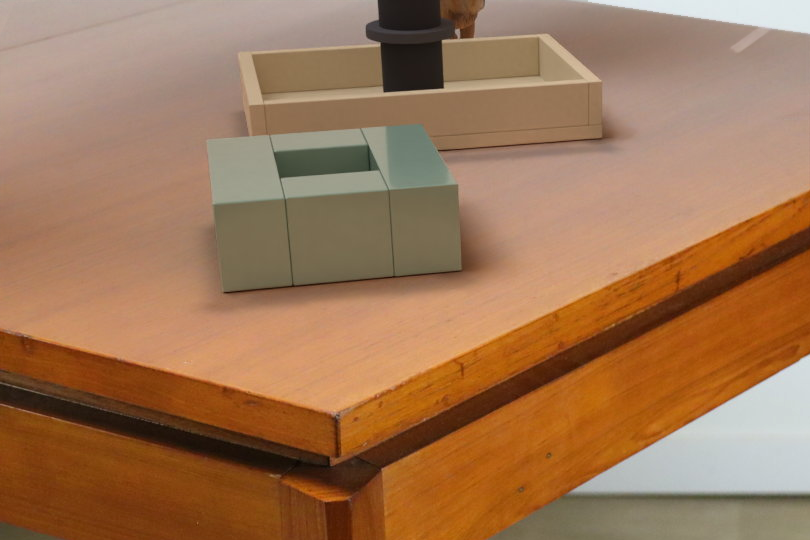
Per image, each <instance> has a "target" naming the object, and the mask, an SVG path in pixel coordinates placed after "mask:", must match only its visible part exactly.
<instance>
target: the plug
mask: <svg viewBox="0 0 810 540" xmlns="http://www.w3.org/2000/svg"><path fill="white" fill-rule="evenodd" d="M377 11H378V13H377V15H378V19H376V20H373V21H370V22H368V23H366V24H365V37H366V38H367V39H368V40H370V41H372V42H376V43H379V44H380V47H381V63H382V79H383V93H386V92H401V91H416V90H431V89H444V76H443V54H442V40H445V39H448V38H451V37H452V36H454V35H455V33H456V29H455V23H454V22H453V21H451V20H449V19H445V18H441V10H440V0H377Z"/></svg>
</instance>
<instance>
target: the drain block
mask: <svg viewBox="0 0 810 540" xmlns="http://www.w3.org/2000/svg"><path fill="white" fill-rule="evenodd" d="M205 144H206V153H207V164H208V175H209V183H210V195H211V204H212V205H211V206H212V212H213V222H214V232H215V239H216V240H215V241H216V248H217V257H218V266H219V275H220V281H221V282H220V284H221V285H220V286H221V290H222V291H221V292H222V293H229V292H240V291H250V290H261V289H271V288H283V287H292V286H306V285H315V284H317V285H318V284H328V283H337V282H348V281H349V282H350V281H358V280H371V279H381V278H391V277H404V276H405V277H406V276H414V275H425V274H427V275H428V274H436V273H447V272H448V273H449V272H456V271H462V269H463V267H462V247H461V244H462V243H461V221H460V199H459V183H458V181H457V180H456V179H455V177H454V175H453V174H452V172H451V170H450V168H449V167H448V165H447V163H446V162H445V160H444V159H443V157H442V155H441V154H440V151H439V150H437V149H436V147H435V145H434V144H433V142H432V140H431V139H430V137H429V135H428V134H427V132H426V130H425V129H424V127H423V125H422V124H411V125H397V126H383V127H370V128H361V129H345V130H331V131H317V132H303V133H289V134H275V135H270V136H269V135H261V136H249V135H248V136H236V137H222V138H221V137H220V138H209V139H206V141H205Z"/></svg>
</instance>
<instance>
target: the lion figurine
mask: <svg viewBox="0 0 810 540" xmlns="http://www.w3.org/2000/svg"><path fill="white" fill-rule="evenodd" d="M485 3H486V0H440V10H441V18H445V19H449V20H451V21H453V22H454V23H455V30H459V38H458V34H457V33H456V32H455V35H454V36H452V37H451V38H448V39H445V40H451V39H468V38H474V36H475V31H476V19H477V18H478V13H480V11H482V10H483V9H484V8H485V5H486V4H485Z"/></svg>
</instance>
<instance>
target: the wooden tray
mask: <svg viewBox="0 0 810 540" xmlns="http://www.w3.org/2000/svg"><path fill="white" fill-rule="evenodd" d="M442 54H443V76H444V89H431V90H416V91H401V92H386V93H383V79H382V63H381V47H380V43H370V44H354V45H353V44H352V45H338V46H337V45H336V46H319V47H304V48H287V49H271V50H270V49H269V50H254V51H253V50H252V51H239V52H237V58H238V69H239V79H240V87H241V96H242V97H241V98H242V106H243V111H244V116H245V121H246V126H247V131H248V136H261V135H269V136H270V135H275V134H289V133H303V132H317V131H331V130H345V129H361V128H370V127H383V126H397V125H411V124H422V125H423V127H424V129H425V130H426V132H427V134H428V135H429V137H430V139H431V140H432V142H433V144H434V145H435V147H436V149H437V150H438V151H449V150H461V149H475V148H489V147H503V146H513V145H514V146H515V145H527V144H528V145H529V144H540V143H541V144H542V143H553V142H567V141H580V140H591V139H592V140H593V139H602V138H603V81H602V80H601V79H600V78H599V77H598V75H597V76H596V74H594V73H593V72H592V71H591V70H590V69H589V68H588V67H587V66H585V65H584V64H583V63H582V62H581V61H580V60H578V59H577V58H576V57H575V56H574V55H573V54H571V52H570V51H568V50H567V49H566V48H565V47H563V45H561V44H560V42H558V41H557V40H556V39H554V37H552V36H551V35H550V34H549V33H537V34H519V35H518V34H517V35H504V36H489V37H487V36H486V37H473V38H468V39H460V38H458V39H451V40H442Z"/></svg>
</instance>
